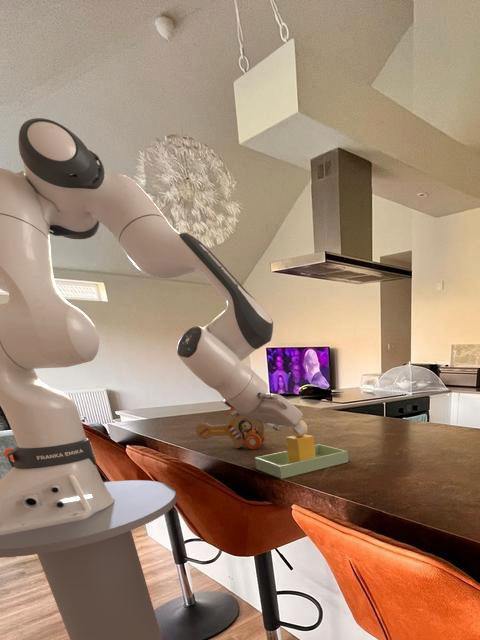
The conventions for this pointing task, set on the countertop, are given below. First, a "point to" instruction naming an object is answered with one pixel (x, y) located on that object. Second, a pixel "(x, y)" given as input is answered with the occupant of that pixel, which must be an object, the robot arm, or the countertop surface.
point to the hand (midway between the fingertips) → (290, 430)
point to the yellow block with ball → (300, 445)
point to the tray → (300, 462)
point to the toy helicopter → (236, 431)
